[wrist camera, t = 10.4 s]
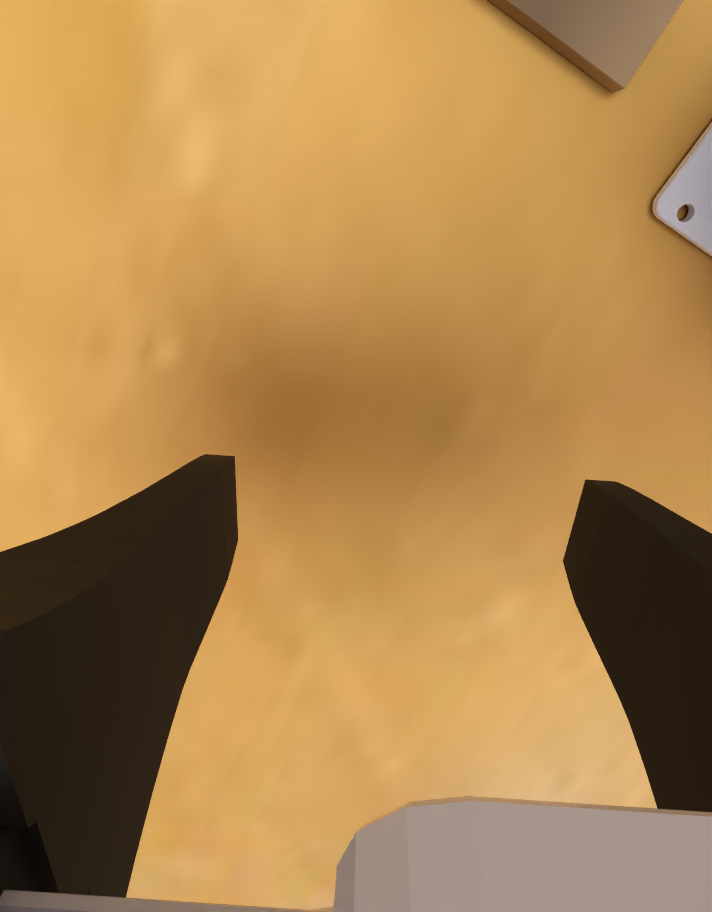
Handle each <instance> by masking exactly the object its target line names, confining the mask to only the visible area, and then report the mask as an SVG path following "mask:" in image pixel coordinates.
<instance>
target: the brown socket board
mask: <svg viewBox="0 0 712 912" xmlns="http://www.w3.org/2000/svg"><path fill="white" fill-rule="evenodd" d="M488 1H489V2H491V3H492V4H493V5H495V6H496V7H497V8H499V9H500V10H501V11H503V12H504V13H505V14H507V15H508V16H509V17H511V18H512V19H514V20H515V21H516V22H518V23H519V24H520V25H522V26H523V27H524V28H526V29H527V30H528V31H530V32H531V33H532V34H534V35H535V36H536V37H538V38H539V39H540V40H542V41H543V42H545V43H546V44H547V45H549V46H550V47H551V48H553V49H554V50H555V51H557V52H558V53H559V54H561V55H562V56H563V57H565V58H566V59H567V60H569V61H570V62H571V63H573V64H574V65H576V66H577V67H578V68H580V69H581V70H582V71H584V72H585V73H586V74H588V75H589V76H590V77H592V78H593V79H594V80H596V81H597V82H598V83H600V84H601V85H602V86H604V87H605V88H606V89H608V90H609V91H611V92H612V93H613V92H616V91H619V90H621V89H624V88H625V87H626V86H627V84H628V83H629V81H630V80H631V78H632V77H633V75H634V74H635V72H636V71H637V69H638V68H639V66H640V65H641V63H642V62H643V60H644V59H645V57H646V56H647V54H648V53H649V51H650V50H651V48H652V47H653V45H654V44H655V42H656V41H657V39H658V38H659V36H660V35H661V33H662V32H663V30H664V29H665V27H666V26H667V24H668V23H669V21H670V20H671V18H672V17H673V15H674V14H675V12H676V11H677V9H678V8H679V6H680V5H681V3H682V2H683V0H488Z"/></svg>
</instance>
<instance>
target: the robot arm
mask: <svg viewBox="0 0 712 912" xmlns="http://www.w3.org/2000/svg"><path fill="white" fill-rule="evenodd" d="M685 204H686V205H687V206H688V211H689V212H688V214H687V216H686V217H685V218H684V219H683V220H681V221H679V220H678V218H677V212H678V210H679V208H680V207H682V206H683V205H685ZM652 209H653V213H654V215H655V216H656V217H657V219H659V220H660V221H662V222H663V223H664V224H666V225H667V226H669V227H670V228H672V229H673V230H674V231H676V232H677V233H679V234H680V235H682V236H683V237H684V238H686V239H687V240H689V241H690V242H691V243H693V244H694V245H696V246H697V247H699V248H700V249H701V250H703V251H704V252H706V253H707V254H709V255H710V256H711V257H712V122H711V123H710V125H709V126H708V127H707V129H706V130H705V131H704V133H703V134H702V135H701V137H700V138H699V139H698V141H697V142H696V143H695V145H694V146H693V148H692V149H691V150H690V152H689V153H688V154H687V156H686V157H685V158H684V160H683V161H682V162H681V164H680V165H679V166H678V168H677V169H676V170H675V172H674V173H673V174H672V176H671V177H670V178H669V180H668V181H667V182H666V184H665V185H664V186H663V188H662V189H661V190H660V192H659V193H658V194H657V196H656V198H655V200H654V201H653V207H652ZM237 542H238V526H237V502H236V478H235V456H222V455H207V454H205V455H203V456H200V457H198V458H197V459H195V460H193V461H191V462H189V463H188V464H186V465H184V466H183V467H181V468H179V469H178V470H176V471H174V472H173V473H171V474H170V475H168V476H166V477H164V478H163V479H161V480H159V481H158V482H156V483H154V484H153V485H151V486H149V487H148V488H146V489H144V490H143V491H141V492H139V493H137V494H135V495H133V496H131V497H130V498H128V499H126V500H124V501H122V502H120V503H118V504H116V505H115V506H113V507H111V508H109V509H107V510H105V511H103V512H101V513H99V514H97V515H95V516H93V517H91V518H89V519H86V520H84V521H82V522H80V523H78V524H75V525H73V526H70V527H68V528H66V529H63V530H61V531H58V532H56V533H54V534H51V535H49V536H46V537H43V538H41V539H38V540H35V541H32V542H29V543H26V544H23V545H20V546H17V547H14V548H11V549H8V550H5V551H2V552H0V912H712V534H711V533H709V532H708V531H706V530H704V529H702V528H700V527H699V526H697V525H695V524H693V523H692V522H690V521H688V520H686V519H685V518H683V517H681V516H679V515H678V514H676V513H674V512H673V511H671V510H669V509H667V508H666V507H664V506H662V505H660V504H659V503H657V502H655V501H653V500H652V499H650V498H648V497H646V496H644V495H642V494H641V493H639V492H637V491H635V490H633V489H631V488H629V487H627V486H625V485H622V484H620V483H618V482H613V481H598V480H585V483H584V487H583V490H582V494H581V498H580V501H579V505H578V509H577V512H576V516H575V519H574V523H573V527H572V530H571V534H570V538H569V541H568V545H567V549H566V552H565V556H564V559H563V563H564V567H565V570H566V574H567V578H568V581H569V585H570V588H571V591H572V595H573V598H574V601H575V604H576V606H577V608H578V611H579V613H580V615H581V617H582V619H583V622H584V624H585V626H586V628H587V630H588V632H589V635H590V637H591V639H592V641H593V643H594V645H595V647H596V650H597V652H598V654H599V656H600V658H601V660H602V662H603V664H604V667H605V669H606V671H607V673H608V675H609V677H610V679H611V681H612V684H613V686H614V688H615V690H616V692H617V694H618V696H619V699H620V701H621V703H622V706H623V708H624V711H625V713H626V715H627V718H628V720H629V723H630V726H631V729H632V732H633V735H634V737H635V740H636V743H637V746H638V749H639V752H640V755H641V758H642V761H643V764H644V767H645V769H646V773H647V776H648V779H649V782H650V785H651V789H652V792H653V795H654V798H655V802H656V805H657V808H658V809H653V808H638V807H623V806H608V805H593V804H578V803H563V802H548V801H533V800H518V799H503V798H488V797H473V796H465V797H455V798H445V799H434V800H424V801H414V802H409V803H407V804H405V805H403V806H401V807H399V808H397V809H395V810H393V811H391V812H389V813H387V814H385V815H383V816H381V817H379V818H377V819H375V820H373V821H371V822H369V823H367V824H366V825H365V826H363V827H362V828H361V829H360V830H358V831H357V832H356V833H355V835H354V837H353V839H352V840H351V842H350V844H349V846H348V848H347V849H346V851H345V853H344V855H343V856H342V858H341V860H340V862H339V864H338V865H337V873H336V886H335V899H334V905H333V907H330V908H322V909H315V910H301V909H286V908H271V907H256V906H241V905H226V904H211V903H196V902H181V901H166V900H151V899H137V898H126V894H127V890H128V886H129V882H130V878H131V874H132V869H133V865H134V861H135V857H136V853H137V850H138V846H139V842H140V838H141V834H142V830H143V827H144V823H145V819H146V815H147V811H148V808H149V804H150V800H151V796H152V792H153V789H154V785H155V782H156V778H157V775H158V771H159V767H160V764H161V760H162V757H163V753H164V750H165V746H166V743H167V739H168V736H169V732H170V729H171V726H172V722H173V719H174V716H175V712H176V709H177V706H178V702H179V699H180V696H181V693H182V689H183V687H184V684H185V681H186V679H187V676H188V673H189V671H190V668H191V666H192V663H193V661H194V659H195V656H196V654H197V651H198V649H199V647H200V644H201V642H202V640H203V637H204V635H205V633H206V630H207V628H208V625H209V623H210V621H211V618H212V616H213V614H214V611H215V609H216V607H217V604H218V602H219V599H220V597H221V594H222V592H223V590H224V587H225V585H226V582H227V580H228V576H229V573H230V569H231V565H232V562H233V558H234V554H235V550H236V546H237Z"/></svg>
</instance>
